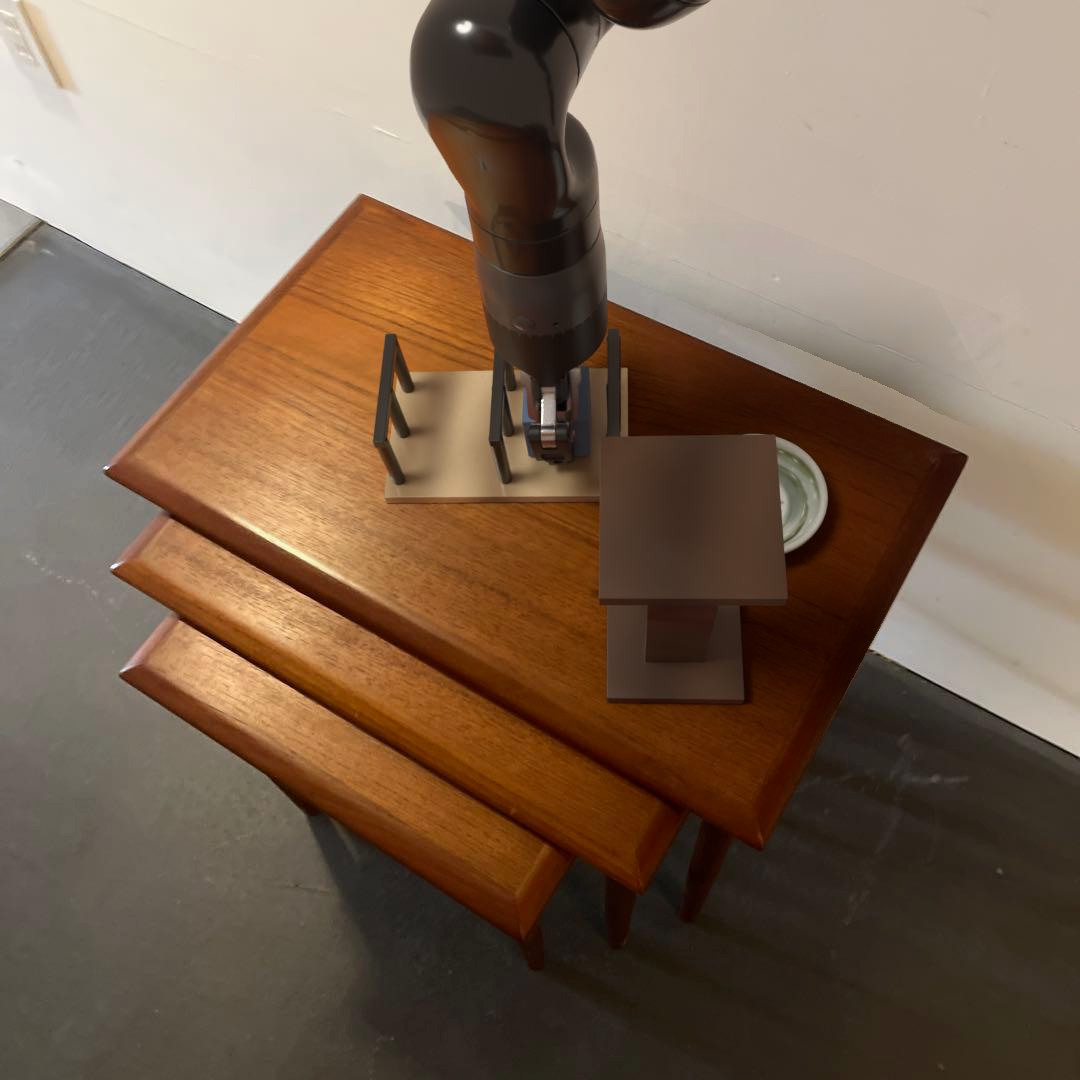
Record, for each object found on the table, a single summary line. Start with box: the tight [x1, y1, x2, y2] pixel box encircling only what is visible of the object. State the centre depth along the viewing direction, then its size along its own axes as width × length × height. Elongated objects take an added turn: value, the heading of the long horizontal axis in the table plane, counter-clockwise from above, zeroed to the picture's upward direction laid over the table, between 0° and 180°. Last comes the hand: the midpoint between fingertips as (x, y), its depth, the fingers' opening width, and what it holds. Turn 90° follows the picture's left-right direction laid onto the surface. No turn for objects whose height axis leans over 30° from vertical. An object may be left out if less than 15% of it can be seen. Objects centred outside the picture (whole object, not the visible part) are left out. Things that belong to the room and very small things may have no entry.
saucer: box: [744, 433, 829, 554], centre depth 69 cm, size 10×10×2 cm
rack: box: [372, 328, 629, 504], centre depth 71 cm, size 18×11×7 cm, turn 88°
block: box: [522, 365, 591, 457], centre depth 70 cm, size 5×5×5 cm
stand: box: [598, 434, 789, 705], centre depth 58 cm, size 9×9×20 cm
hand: (560, 427), depth 72 cm, fingers closed on block, 4 cm apart
